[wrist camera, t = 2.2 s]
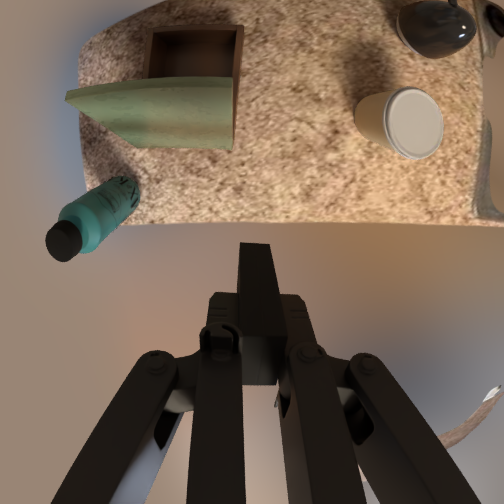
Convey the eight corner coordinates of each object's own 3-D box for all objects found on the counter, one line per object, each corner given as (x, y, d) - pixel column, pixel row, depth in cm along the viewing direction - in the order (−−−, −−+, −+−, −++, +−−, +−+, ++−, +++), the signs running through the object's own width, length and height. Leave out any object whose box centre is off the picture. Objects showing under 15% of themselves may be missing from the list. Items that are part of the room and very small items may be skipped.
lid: (66, 90, 13) (64, 100, 13) (233, 77, 14) (231, 88, 14) (137, 142, 30) (137, 148, 30) (232, 143, 30) (232, 150, 31)
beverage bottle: (134, 217, 42) (75, 286, 25) (102, 197, 40) (31, 253, 23) (152, 185, 40) (92, 240, 22) (119, 163, 38) (42, 204, 20)
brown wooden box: (164, 42, 30) (148, 27, 23) (243, 41, 31) (244, 25, 24) (156, 139, 37) (138, 145, 30) (234, 141, 38) (232, 146, 31)
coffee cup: (395, 152, 39) (439, 168, 28) (345, 140, 38) (380, 151, 27) (403, 99, 34) (449, 101, 24) (352, 83, 34) (391, 75, 23)
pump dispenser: (423, 10, 25) (476, -8, 12) (441, 60, 30) (501, 56, 17) (378, 8, 27) (429, -21, 13) (399, 62, 31) (459, 51, 18)
